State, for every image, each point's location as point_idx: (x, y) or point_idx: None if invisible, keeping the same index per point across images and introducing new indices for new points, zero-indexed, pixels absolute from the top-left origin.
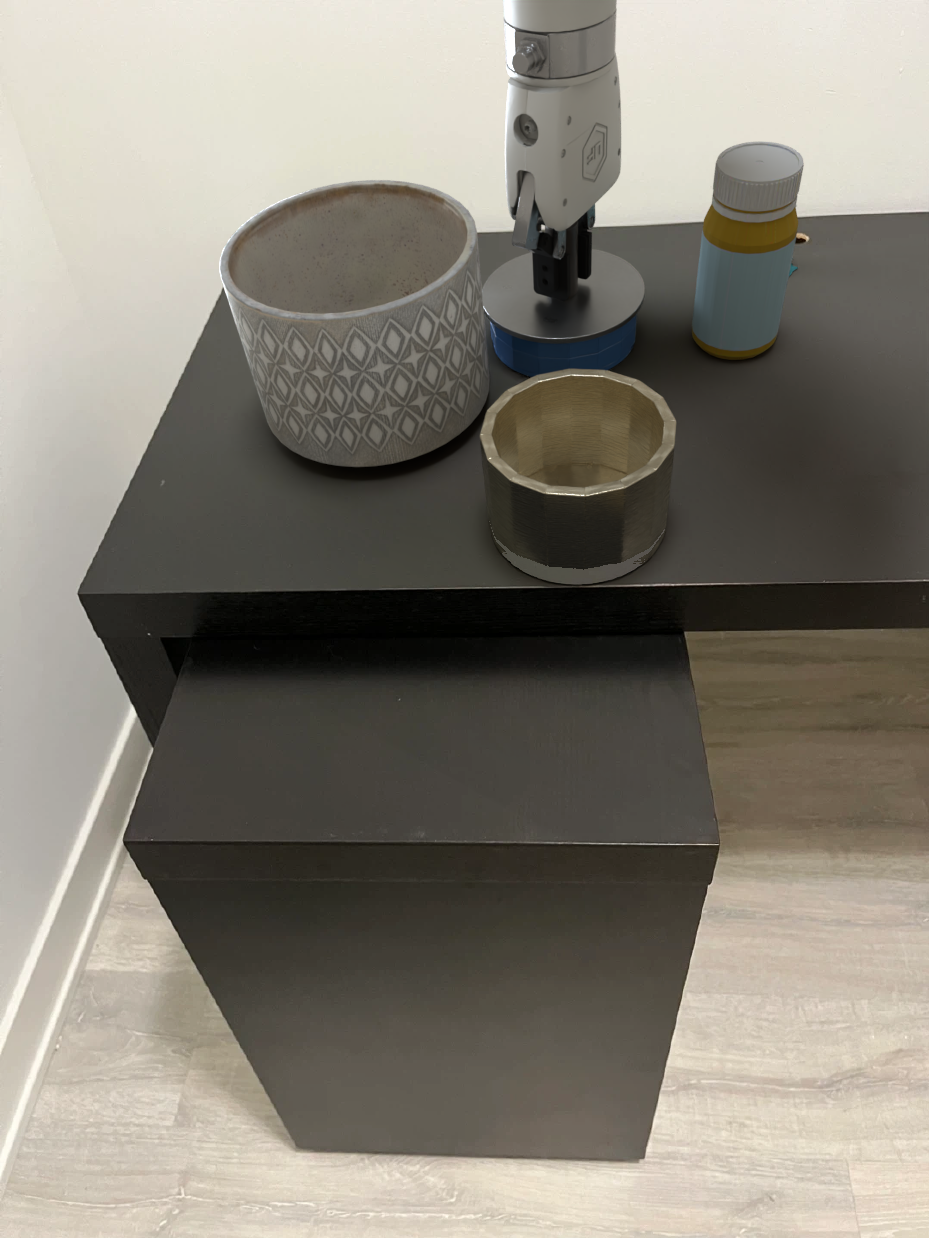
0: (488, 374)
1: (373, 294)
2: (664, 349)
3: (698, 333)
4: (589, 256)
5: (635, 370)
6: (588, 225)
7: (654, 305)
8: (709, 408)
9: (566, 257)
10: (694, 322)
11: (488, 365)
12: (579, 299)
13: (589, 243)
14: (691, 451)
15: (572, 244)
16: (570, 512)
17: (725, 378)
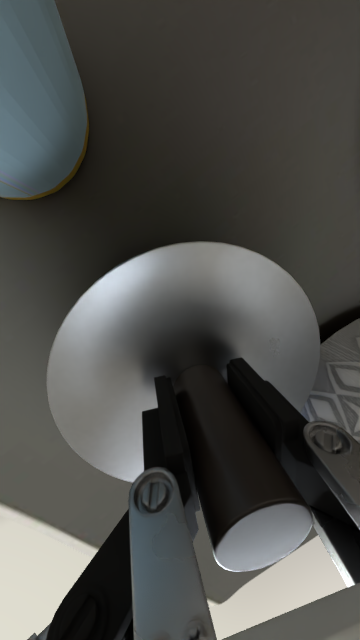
0: (342, 343)
1: None
2: (118, 214)
3: (80, 145)
4: (168, 404)
5: (186, 222)
6: (174, 484)
7: (35, 298)
8: (203, 44)
9: (297, 418)
10: (65, 164)
11: (336, 353)
12: (206, 350)
13: (174, 430)
14: (305, 15)
15: (253, 447)
16: None
17: (117, 61)
